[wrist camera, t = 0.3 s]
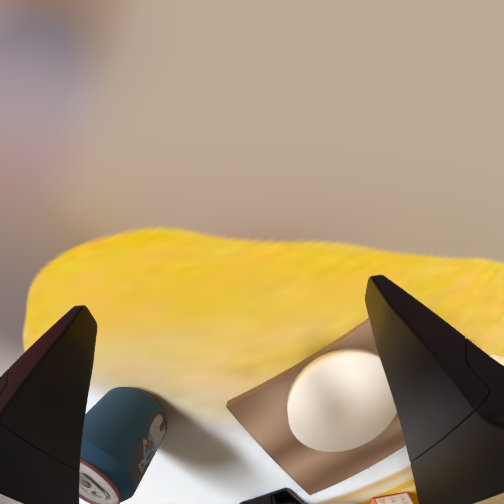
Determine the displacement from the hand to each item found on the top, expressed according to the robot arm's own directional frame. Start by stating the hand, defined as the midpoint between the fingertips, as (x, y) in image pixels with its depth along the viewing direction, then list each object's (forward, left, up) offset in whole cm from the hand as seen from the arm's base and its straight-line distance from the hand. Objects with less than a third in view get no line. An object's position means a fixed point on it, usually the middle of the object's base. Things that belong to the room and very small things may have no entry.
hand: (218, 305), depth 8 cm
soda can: (-7, +17, -15) cm, 24 cm away
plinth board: (-18, 0, -15) cm, 23 cm away
